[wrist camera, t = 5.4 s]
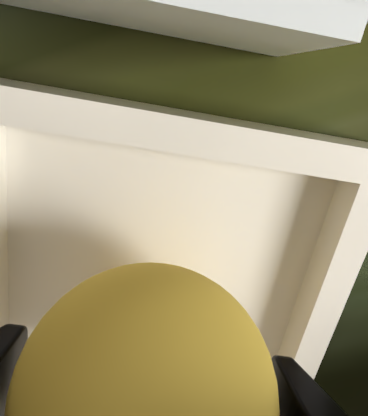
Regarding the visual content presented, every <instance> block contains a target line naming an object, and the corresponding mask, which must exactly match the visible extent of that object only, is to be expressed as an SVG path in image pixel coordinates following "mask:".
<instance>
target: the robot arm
mask: <svg viewBox="0 0 368 416" xmlns="http://www.w3.org/2000/svg"><path fill="white" fill-rule="evenodd" d="M27 339H28V330H27V327H26V326H24V325H17V324H5V325H3V326H2V327H0V416H4V413H5V405H6V397H7V393H8V389H9V385H10V382H11V378H12V375H13V371H14V367H15V365H16V363H17V361H18V358H19V356H20V354H21V352H22V350H23V348H24V346H25V343H26V341H27ZM271 359H272V363H273V367H274V371H275V375H276V379H277V385H278V395H279V408H280V415H279V416H348V415H347V414H346V413H345V411H344V410H343V409H342V408H341V407H340V406H339V405H338V404H337V403H336V402H335V401H334V400H333V399H332V398H331V397H330V396H329V395H328V394H327V393H326V392H325V391H324V390H323V389H322V388H321V387H320V386H319V385H318V384H317V383H316V382H315V381H314V380H313V379H312V378H311V376H310V375H309V374H308V373H307V372H306V371H305V370H304V369H303V368H302V367H301V366H300V365H299V364H298V363H297V362H296V361H295V360H294V359H293V358H291V357H288V356H280V355H274V356H273V357H272V358H271Z"/></svg>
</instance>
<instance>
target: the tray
mask: <svg viewBox="0 0 368 416" xmlns="http://www.w3.org/2000/svg"><path fill="white" fill-rule="evenodd" d="M367 251H368V142H365V141H360V140H354V139H348V138H342V137H337V136H331V135H325V134H320V133H314V132H308V131H302V130H297V129H291V128H285V127H280V126H274V125H268V124H262V123H257V122H251V121H245V120H240V119H234V118H228V117H222V116H217V115H211V114H205V113H199V112H194V111H188V110H182V109H177V108H171V107H165V106H159V105H154V104H148V103H142V102H137V101H131V100H125V99H119V98H114V97H108V96H102V95H96V94H91V93H85V92H79V91H74V90H68V89H62V88H56V87H51V86H45V85H39V84H34V83H28V82H22V81H16V80H11V79H5V78H0V327H2V326H3V325H5V324H17V325H24V326H26V327H27V330H28V338H29V336H30V335H31V333H32V332H33V330H34V329H35V327H36V326H37V325H38V323H39V322H40V320H41V319H42V317H43V316H44V315H45V314H46V313H47V312H48V311H49V310H50V309H51V308H52V307H53V306H54V304H55V303H56V302H57V301H58V300H59V299H60V298H61V297H62V296H64V295H65V294H66V293H68V292H69V291H70V290H72V289H73V288H74V287H76V286H77V285H79V284H80V283H82V282H83V281H85V280H87V279H89V278H90V277H92V276H94V275H97V274H99V273H101V272H104V271H106V270H109V269H112V268H115V267H119V266H123V265H127V264H134V263H147V262H154V263H166V264H171V265H177V266H181V267H184V268H187V269H190V270H193V271H195V272H197V273H199V274H201V275H204V276H205V277H207V278H209V279H211V280H212V281H214V282H215V283H217V284H219V285H220V286H221V287H223V288H224V289H225V290H226V291H228V292H229V293H230V294H231V295H232V296H233V297H234V298H235V299H236V300H237V301H238V302H239V303H240V304H241V305H242V306H243V308H244V309H245V310H246V311H247V313H248V314H249V316H250V317H251V319H252V320H253V322H254V323H255V325H256V326H257V328H258V329H259V331H260V333H261V335H262V337H263V339H264V341H265V344H266V346H267V348H268V351H269V353H270V356H271V358H272V357H273V356H274V355H280V356H288V357H291V358H293V359H294V360H295V361H296V362H297V363H298V364H299V365H300V366H301V367H302V368H303V369H304V370H305V371H306V372H307V373H308V374H309V375H310V376H311V378H312V379H313V380H314V378H315V376H316V373H317V371H318V369H319V366H320V364H321V361H322V359H323V357H324V354H325V352H326V349H327V347H328V345H329V342H330V340H331V337H332V335H333V333H334V330H335V328H336V325H337V323H338V321H339V318H340V316H341V313H342V311H343V309H344V306H345V304H346V301H347V299H348V297H349V294H350V292H351V289H352V287H353V285H354V282H355V280H356V277H357V275H358V273H359V270H360V268H361V265H362V263H363V261H364V258H365V256H366V253H367Z"/></svg>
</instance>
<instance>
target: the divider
mask: <svg viewBox="0 0 368 416" xmlns="http://www.w3.org/2000/svg"><path fill="white" fill-rule="evenodd" d="M0 4H5V5H10V6H15V7H20V8H26V9H31V10H36V11H41V12H47V13H52V14H57V15H62V16H67V17H73V18H78V19H83V20H88V21H93V22H99V23H104V24H109V25H114V26H119V27H125V28H130V29H135V30H140V31H145V32H151V33H156V34H161V35H166V36H171V37H177V38H182V39H187V40H192V41H198V42H203V43H208V44H213V45H218V46H224V47H229V48H234V49H239V50H244V51H250V52H255V53H260V54H265V55H270V56H276V57H279V56H285V55H290V54H296V53H302V52H308V51H314V50H320V49H326V48H332V47H338V46H344V45H350V44H355V43H360V42H361V39H362V36H363V32H364V29H365V26H366V24H367V23H368V0H0Z"/></svg>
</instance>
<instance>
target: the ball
mask: <svg viewBox="0 0 368 416" xmlns="http://www.w3.org/2000/svg"><path fill="white" fill-rule="evenodd" d="M279 415H280V408H279V395H278V385H277V379H276V375H275V371H274V367H273V363H272V359H271V356H270V353H269V351H268V348H267V346H266V344H265V341H264V339H263V337H262V335H261V333H260V331H259V329H258V328H257V326H256V325H255V323H254V322H253V320H252V319H251V317H250V316H249V314H248V313H247V311H246V310H245V309H244V308H243V306H242V305H241V304H240V303H239V302H238V301H237V300H236V299H235V298H234V297H233V296H232V295H231V294H230V293H229V292H228V291H226V290H225V289H224V288H223V287H221V286H220V285H219V284H217V283H215V282H214V281H212V280H211V279H209V278H207V277H205V276H204V275H201V274H199V273H197V272H195V271H193V270H190V269H187V268H184V267H181V266H177V265H171V264H166V263H154V262H147V263H134V264H127V265H123V266H119V267H115V268H112V269H109V270H106V271H104V272H101V273H99V274H97V275H94V276H92V277H90V278H89V279H87V280H85V281H83V282H82V283H80V284H79V285H77V286H76V287H74V288H73V289H72V290H70V291H69V292H68V293H66V294H65V295H64V296H62V297H61V298H60V299H59V300H58V301H57V302H56V303H55V304H54V306H53V307H52V308H51V309H50V310H49V311H48V312H47V313H46V314H45V315H44V316H43V317H42V319H41V320H40V322H39V323H38V325H37V326H36V327H35V329H34V330H33V332H32V333H31V335H30V336H29V338H28V339H27V341H26V343H25V346H24V348H23V350H22V352H21V354H20V356H19V358H18V361H17V363H16V365H15V367H14V371H13V375H12V378H11V382H10V385H9V389H8V393H7V397H6V405H5V413H4V416H279Z"/></svg>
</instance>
